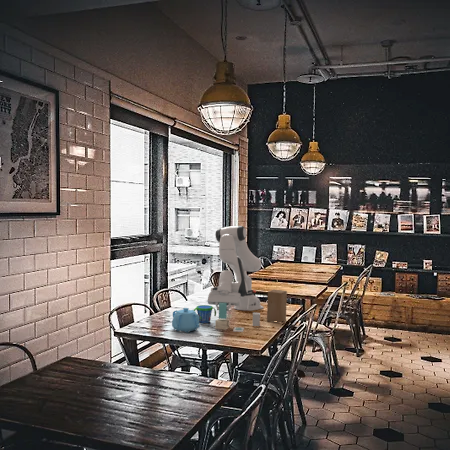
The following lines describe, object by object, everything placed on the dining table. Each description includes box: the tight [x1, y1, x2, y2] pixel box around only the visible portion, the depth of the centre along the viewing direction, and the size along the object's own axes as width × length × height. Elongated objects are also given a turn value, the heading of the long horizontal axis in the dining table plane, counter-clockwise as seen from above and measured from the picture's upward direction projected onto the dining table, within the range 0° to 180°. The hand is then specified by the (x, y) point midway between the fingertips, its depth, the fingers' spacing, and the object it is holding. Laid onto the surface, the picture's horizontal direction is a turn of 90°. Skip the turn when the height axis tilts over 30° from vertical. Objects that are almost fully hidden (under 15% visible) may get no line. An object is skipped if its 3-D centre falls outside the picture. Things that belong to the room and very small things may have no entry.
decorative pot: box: [171, 307, 201, 334], centre depth 307 cm, size 16×16×14 cm
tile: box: [232, 327, 245, 333], centre depth 311 cm, size 9×6×1 cm, turn 174°
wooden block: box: [266, 289, 288, 323], centre depth 337 cm, size 10×10×20 cm
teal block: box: [218, 303, 228, 319], centre depth 315 cm, size 4×4×9 cm
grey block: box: [252, 312, 261, 326], centre depth 323 cm, size 4×4×8 cm
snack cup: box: [193, 304, 217, 324], centre depth 329 cm, size 16×10×10 cm
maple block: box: [214, 318, 231, 330], centre depth 315 cm, size 7×7×5 cm
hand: (222, 310), depth 314 cm, fingers closed on teal block, 4 cm apart
